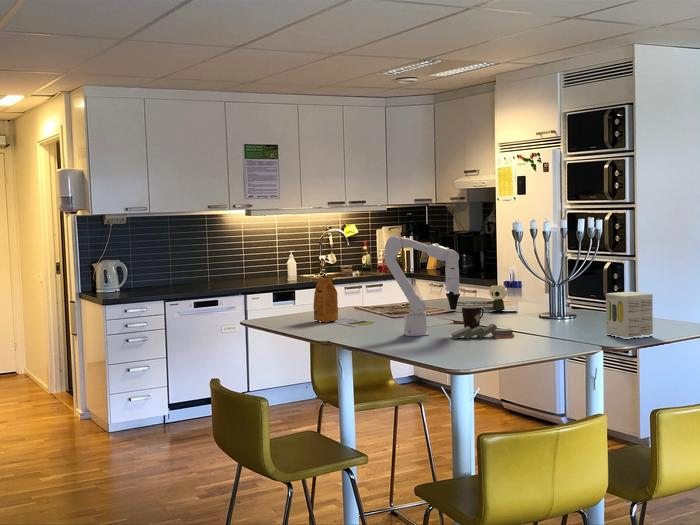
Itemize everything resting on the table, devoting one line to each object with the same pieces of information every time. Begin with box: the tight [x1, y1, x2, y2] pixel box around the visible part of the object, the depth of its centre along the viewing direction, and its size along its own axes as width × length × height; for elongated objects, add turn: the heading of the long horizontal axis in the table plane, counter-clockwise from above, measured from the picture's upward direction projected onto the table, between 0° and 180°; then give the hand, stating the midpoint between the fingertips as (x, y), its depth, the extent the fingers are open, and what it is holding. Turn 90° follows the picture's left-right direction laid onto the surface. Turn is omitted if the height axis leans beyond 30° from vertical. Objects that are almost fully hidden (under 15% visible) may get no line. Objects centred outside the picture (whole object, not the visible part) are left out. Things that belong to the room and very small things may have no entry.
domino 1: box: [463, 325, 484, 340], centre depth 348 cm, size 2×5×8 cm
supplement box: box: [605, 291, 654, 337], centre depth 339 cm, size 13×13×18 cm
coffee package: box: [312, 275, 339, 323], centre depth 409 cm, size 10×12×22 cm
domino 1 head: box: [450, 326, 472, 340], centre depth 348 cm, size 2×5×8 cm
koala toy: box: [489, 285, 508, 312], centre depth 427 cm, size 11×7×13 cm, turn 42°
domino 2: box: [476, 323, 498, 339], centre depth 348 cm, size 2×5×8 cm
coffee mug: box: [461, 305, 485, 329], centre depth 371 cm, size 12×9×10 cm
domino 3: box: [490, 328, 514, 335], centre depth 349 cm, size 2×5×8 cm
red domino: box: [491, 333, 515, 339], centre depth 349 cm, size 2×5×8 cm
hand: (453, 309), depth 360 cm, fingers closed
